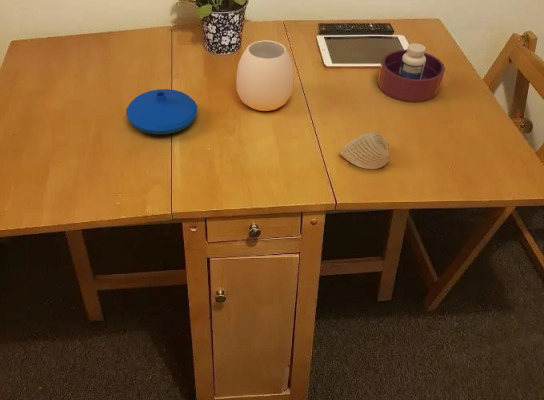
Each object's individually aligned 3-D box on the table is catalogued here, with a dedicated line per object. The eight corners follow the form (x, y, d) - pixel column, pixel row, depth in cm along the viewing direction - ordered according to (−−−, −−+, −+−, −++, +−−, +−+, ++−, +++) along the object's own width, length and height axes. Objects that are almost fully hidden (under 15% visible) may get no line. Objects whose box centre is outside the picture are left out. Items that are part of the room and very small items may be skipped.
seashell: (399, 164, 116) (369, 152, 112) (369, 180, 122) (340, 169, 118) (395, 129, 119) (366, 117, 115) (366, 146, 126) (338, 135, 122)
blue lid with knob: (114, 119, 131) (109, 92, 126) (169, 93, 139) (167, 67, 134) (155, 151, 122) (152, 124, 118) (212, 122, 130) (211, 96, 125)
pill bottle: (401, 75, 143) (410, 39, 136) (422, 82, 141) (432, 45, 134) (392, 85, 140) (401, 48, 133) (414, 92, 138) (423, 55, 131)
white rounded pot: (254, 123, 130) (256, 70, 120) (225, 95, 138) (225, 43, 129) (303, 107, 134) (309, 55, 125) (272, 81, 143) (275, 30, 134)
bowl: (451, 93, 139) (458, 71, 134) (404, 109, 134) (410, 87, 130) (410, 66, 148) (415, 44, 144) (365, 80, 143) (369, 58, 139)
